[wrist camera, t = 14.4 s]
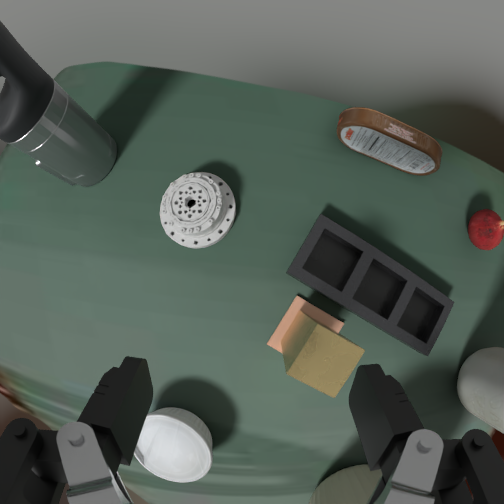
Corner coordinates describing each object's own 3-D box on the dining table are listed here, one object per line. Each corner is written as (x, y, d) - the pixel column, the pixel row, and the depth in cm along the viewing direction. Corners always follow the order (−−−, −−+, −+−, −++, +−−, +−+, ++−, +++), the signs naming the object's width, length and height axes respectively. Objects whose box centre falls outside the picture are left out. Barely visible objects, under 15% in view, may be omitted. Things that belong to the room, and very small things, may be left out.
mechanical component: (237, 247, 37) (236, 173, 38) (232, 242, 33) (232, 160, 34) (162, 249, 38) (165, 178, 39) (149, 245, 33) (154, 167, 35)
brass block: (311, 358, 34) (334, 398, 20) (280, 341, 35) (286, 373, 21) (330, 327, 35) (365, 350, 21) (299, 309, 35) (317, 323, 21)
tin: (425, 167, 37) (453, 144, 28) (423, 185, 36) (452, 164, 28) (334, 128, 38) (346, 95, 30) (329, 146, 38) (341, 114, 30)
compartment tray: (444, 301, 34) (454, 302, 32) (419, 352, 34) (427, 356, 31) (317, 218, 37) (320, 213, 34) (285, 273, 36) (287, 272, 34)
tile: (313, 369, 34) (314, 370, 34) (266, 343, 35) (266, 344, 35) (343, 323, 35) (344, 323, 34) (296, 295, 36) (296, 295, 35)
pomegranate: (464, 257, 35) (497, 251, 27) (453, 220, 35) (485, 207, 27) (487, 247, 34) (520, 239, 27) (477, 211, 35) (508, 198, 27)
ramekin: (135, 399, 35) (119, 412, 30) (210, 398, 35) (201, 414, 30) (154, 461, 34) (141, 478, 29) (225, 464, 33) (219, 484, 28)
